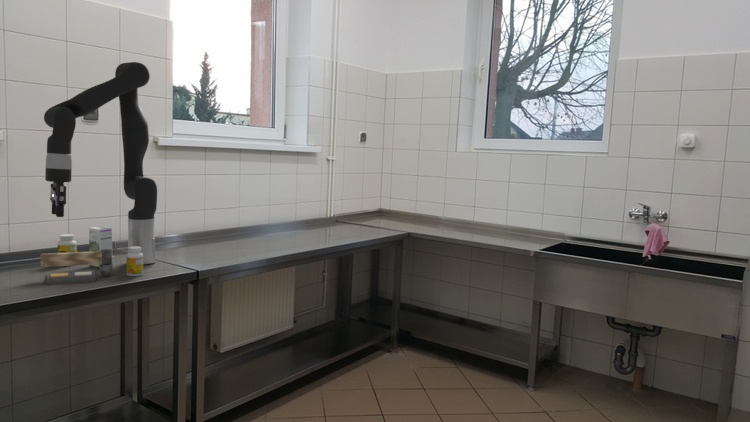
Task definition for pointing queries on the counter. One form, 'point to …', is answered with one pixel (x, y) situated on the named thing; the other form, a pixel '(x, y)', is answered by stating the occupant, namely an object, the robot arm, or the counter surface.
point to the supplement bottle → (134, 261)
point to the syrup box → (100, 240)
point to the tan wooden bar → (76, 258)
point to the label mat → (70, 276)
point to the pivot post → (106, 270)
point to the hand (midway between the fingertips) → (57, 215)
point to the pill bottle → (67, 244)
